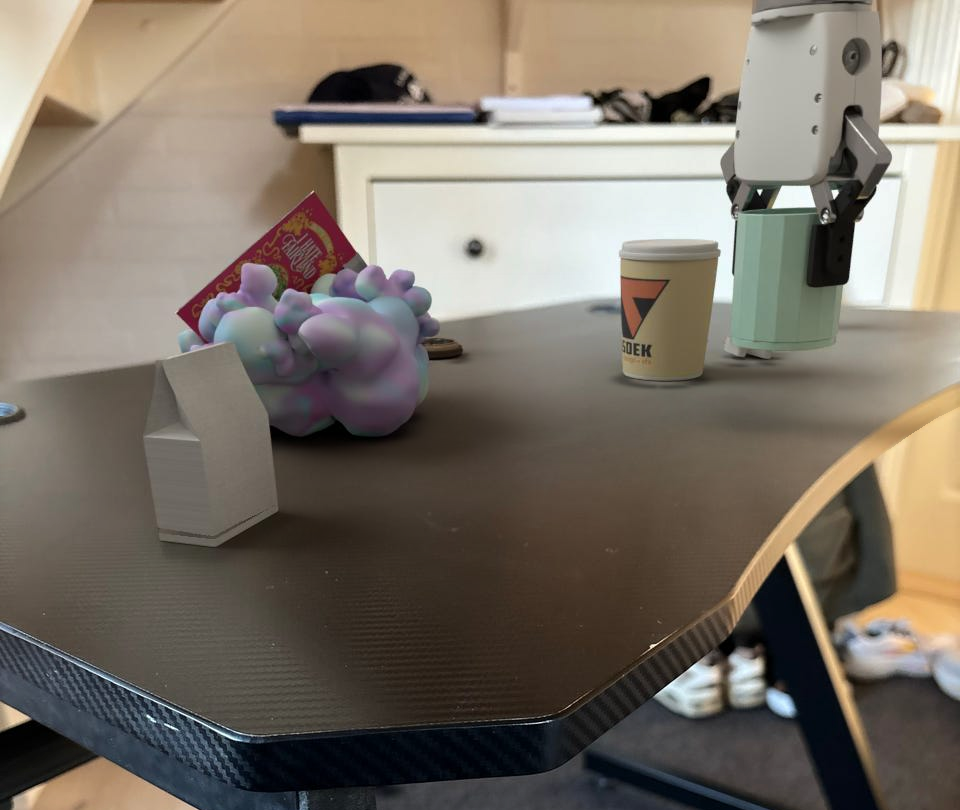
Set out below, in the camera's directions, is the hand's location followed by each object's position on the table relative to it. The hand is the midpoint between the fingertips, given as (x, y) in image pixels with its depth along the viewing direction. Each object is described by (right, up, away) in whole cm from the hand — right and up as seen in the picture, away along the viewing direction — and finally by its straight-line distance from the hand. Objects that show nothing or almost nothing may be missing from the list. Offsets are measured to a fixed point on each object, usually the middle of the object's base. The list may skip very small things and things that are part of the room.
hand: (787, 278), depth 73 cm
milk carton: (-37, -20, -14) cm, 45 cm away
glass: (0, -4, +2) cm, 4 cm away
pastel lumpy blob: (-36, -9, +9) cm, 38 cm away
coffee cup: (-4, 0, +26) cm, 26 cm away
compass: (-28, +5, +39) cm, 48 cm away
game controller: (+4, +5, +36) cm, 37 cm away
